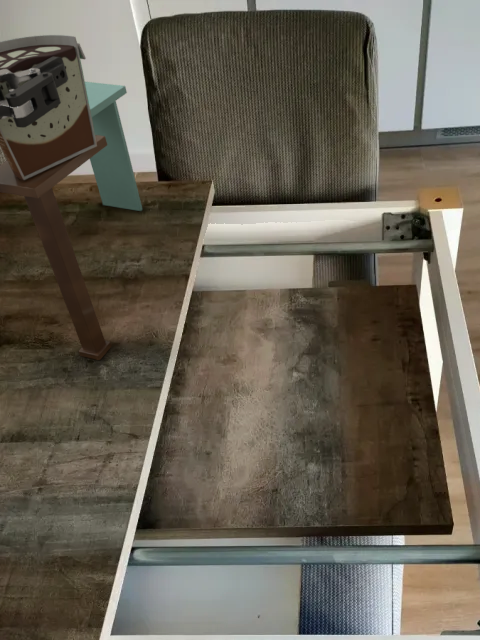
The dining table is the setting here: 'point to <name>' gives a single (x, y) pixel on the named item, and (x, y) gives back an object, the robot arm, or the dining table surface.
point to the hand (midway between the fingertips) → (29, 64)
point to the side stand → (61, 244)
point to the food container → (58, 124)
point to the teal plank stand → (111, 149)
